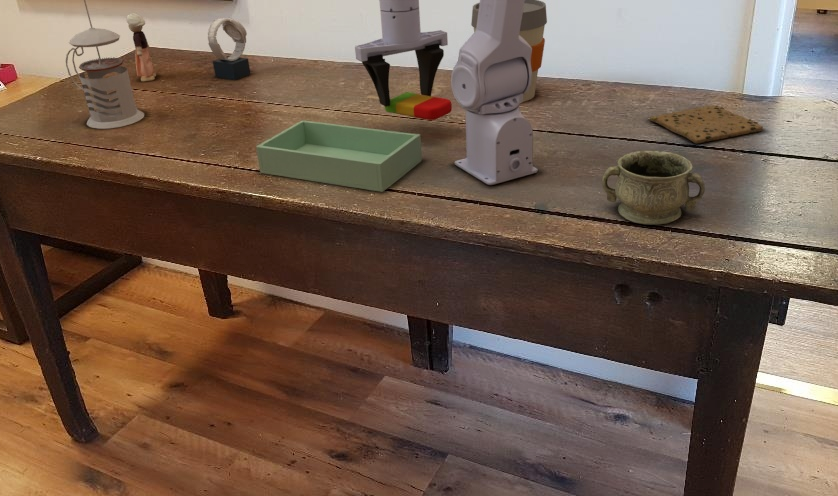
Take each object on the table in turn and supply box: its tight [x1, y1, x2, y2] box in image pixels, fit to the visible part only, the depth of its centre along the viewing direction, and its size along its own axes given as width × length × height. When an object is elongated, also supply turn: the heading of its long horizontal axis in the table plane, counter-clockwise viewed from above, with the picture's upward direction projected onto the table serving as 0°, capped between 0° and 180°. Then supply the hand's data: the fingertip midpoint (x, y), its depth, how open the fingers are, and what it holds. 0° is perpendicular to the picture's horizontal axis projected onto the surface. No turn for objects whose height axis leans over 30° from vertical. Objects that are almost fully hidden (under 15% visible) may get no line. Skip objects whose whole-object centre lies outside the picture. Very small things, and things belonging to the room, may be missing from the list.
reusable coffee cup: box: [470, 0, 548, 103], centre depth 135 cm, size 13×13×15 cm
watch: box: [207, 17, 252, 81], centre depth 157 cm, size 6×8×11 cm
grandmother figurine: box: [126, 13, 157, 82], centre depth 158 cm, size 8×4×13 cm, turn 17°
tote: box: [255, 119, 423, 193], centre depth 114 cm, size 20×12×4 cm, turn 63°
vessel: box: [601, 150, 706, 226], centre depth 96 cm, size 12×9×6 cm
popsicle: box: [366, 91, 453, 121], centre depth 123 cm, size 6×15×2 cm, turn 53°
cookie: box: [649, 104, 764, 144], centre depth 121 cm, size 12×12×1 cm
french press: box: [65, 0, 145, 129], centre depth 134 cm, size 10×12×25 cm
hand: (405, 100), depth 123 cm, fingers closed on popsicle, 6 cm apart
